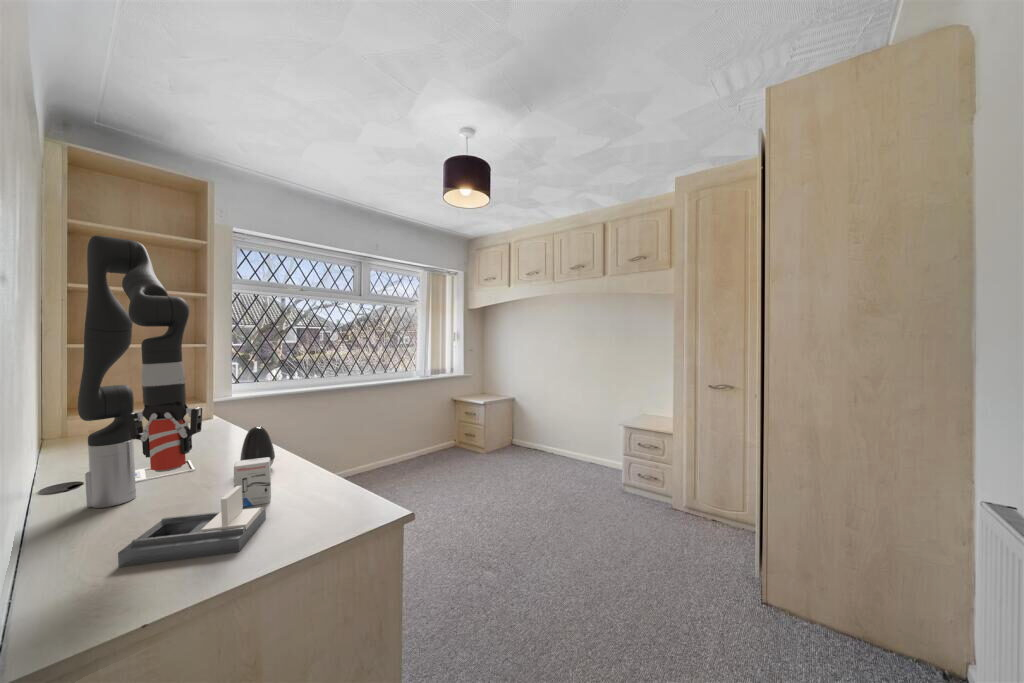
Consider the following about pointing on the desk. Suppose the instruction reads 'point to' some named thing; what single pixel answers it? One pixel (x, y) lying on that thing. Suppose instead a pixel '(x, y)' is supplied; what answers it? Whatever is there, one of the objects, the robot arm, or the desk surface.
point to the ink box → (253, 480)
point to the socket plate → (186, 540)
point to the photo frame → (141, 476)
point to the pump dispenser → (257, 445)
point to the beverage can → (165, 445)
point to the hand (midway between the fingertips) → (168, 454)
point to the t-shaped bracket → (232, 513)
